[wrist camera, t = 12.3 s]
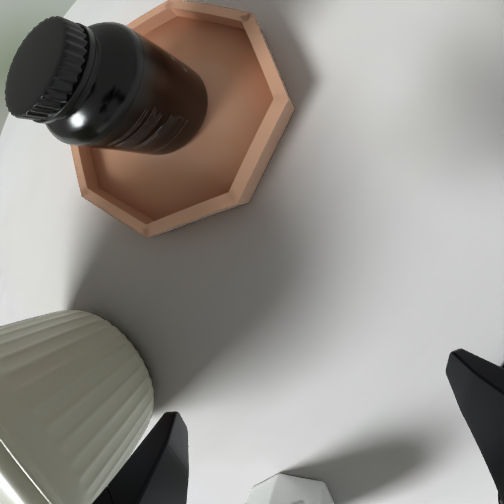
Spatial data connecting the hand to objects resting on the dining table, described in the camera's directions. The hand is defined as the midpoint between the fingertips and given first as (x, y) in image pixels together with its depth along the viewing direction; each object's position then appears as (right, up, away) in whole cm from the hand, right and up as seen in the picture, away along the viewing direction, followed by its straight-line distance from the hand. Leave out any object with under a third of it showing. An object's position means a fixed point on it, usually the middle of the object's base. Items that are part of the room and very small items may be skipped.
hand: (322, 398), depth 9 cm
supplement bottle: (-8, +14, +12) cm, 20 cm away
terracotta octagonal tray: (-8, +15, +13) cm, 21 cm away
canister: (-17, -7, +19) cm, 26 cm away
